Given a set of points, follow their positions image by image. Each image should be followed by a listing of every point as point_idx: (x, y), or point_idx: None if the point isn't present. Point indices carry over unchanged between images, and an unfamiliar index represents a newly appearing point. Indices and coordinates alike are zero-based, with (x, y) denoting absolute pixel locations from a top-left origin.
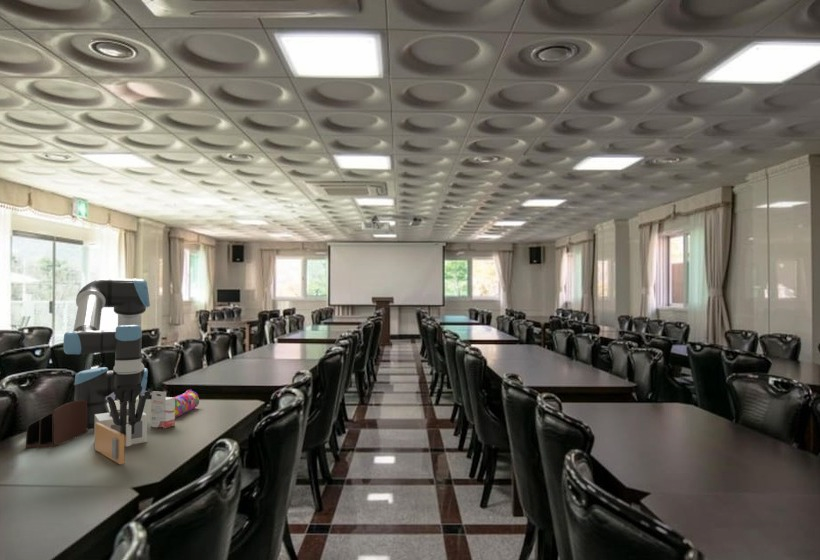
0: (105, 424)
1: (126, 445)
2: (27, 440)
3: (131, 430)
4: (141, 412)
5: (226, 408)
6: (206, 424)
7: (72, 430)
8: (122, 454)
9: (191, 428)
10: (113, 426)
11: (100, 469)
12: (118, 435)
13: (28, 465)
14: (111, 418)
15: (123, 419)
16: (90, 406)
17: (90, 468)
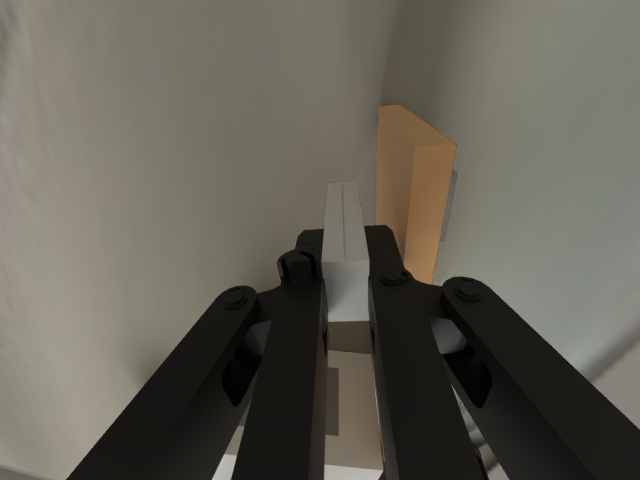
0: (358, 444)
1: (355, 183)
2: (483, 468)
3: (317, 246)
4: (167, 378)
5: (31, 445)
6: (57, 379)
7: (384, 472)
8: (395, 113)
9: (99, 372)
10: (328, 426)
11: (481, 118)
12: (445, 189)
13: (575, 346)
14: (331, 472)
15: (418, 323)
16: None
17: (497, 172)
